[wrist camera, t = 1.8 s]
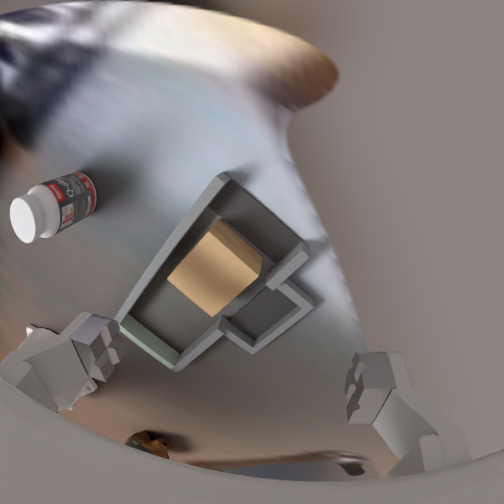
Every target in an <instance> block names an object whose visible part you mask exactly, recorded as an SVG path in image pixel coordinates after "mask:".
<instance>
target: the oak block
mask: <svg viewBox="0 0 504 504" xmlns="http://www.w3.org/2000/svg"><path fill="white" fill-rule="evenodd" d="M263 259H264V258H263V257H262V256H260V255H259V254H258V253H257V252H256V251H255V250H254V249H253V248H252V247H250V246H249V245H248V244H247V243H246V242H245V241H244V240H243V239H242V238H241V237H239V236H238V235H237V234H236V233H235V232H234V231H233V230H232V229H231V228H229V227H228V226H227V225H226V224H225V223H224V222H223V221H222V220H221V219H219V220H218V221H217V222H216V223H215V224H214V225H213V226H212V227H211V228H210V229H209V231H208V232H207V233H206V234H205V235H204V236H203V237H202V238H201V240H200V241H199V242H198V243H197V244H196V245H195V246H194V247H193V248H192V250H191V251H190V252H189V253H188V254H187V255H186V256H185V258H184V259H183V260H182V261H181V262H180V263H179V265H178V266H177V267H176V268H175V269H174V271H173V272H172V273H171V274H170V276H169V277H168V278H167V280H169V281H170V282H171V283H172V284H173V285H174V286H176V287H177V288H178V289H179V290H180V291H181V292H183V293H184V294H185V295H186V296H187V297H188V298H190V299H191V300H192V301H193V302H194V303H196V304H197V305H198V306H199V307H200V308H202V309H203V310H204V311H205V312H207V313H208V314H209V315H210V316H212V317H213V316H214V315H215V314H217V313H218V312H219V311H220V310H221V309H222V308H223V307H225V306H226V305H227V304H228V303H229V302H230V301H231V300H233V299H234V298H235V297H236V296H237V295H238V294H239V293H241V292H242V291H243V290H244V289H245V288H246V287H247V286H248V285H250V284H251V283H252V282H253V281H254V280H255V279H256V278H257V277H259V274H260V271H261V267H262V263H263Z"/></svg>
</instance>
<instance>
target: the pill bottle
mask: <svg viewBox="0 0 504 504" xmlns="http://www.w3.org/2000/svg"><path fill="white" fill-rule="evenodd" d="M96 200H97V196H96V190H95V187H94V184H93V182H92V181H91V180H90V178H89V177H88V176H86V175H85V174H83V173H79V172H76V173H71V174H68V175H65V176H62V177H59V178H56V179H53V180H50V181H47V182H44V183H41V184H38V185H36V186H34V187H33V188H31V189H30V190H29V192H28V193H27V194H24V195H22V196H20V197H18V198H16V199H14V201H13V202H12V204H11V208H10V218H11V223H12V226H13V228H14V231H15V233H16V234H17V236H18V237H19V238H20V239H21V240H22V241H23V242H25V243H31V242H33V241H34V240H36V239H38V238H39V237H43V238H48V237H51V236H53V235H55V234H57V233H59V232H60V231H62V230H64V229H66V228H68V227H69V226H71V225H73V224H75V223H77V222H79V221H81V220H82V219H84V218H86V217H88V216H89V215H90V214H91V213H92V212H93V211H94V208H95V206H96Z"/></svg>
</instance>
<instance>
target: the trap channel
mask: <svg viewBox="0 0 504 504" xmlns="http://www.w3.org/2000/svg"><path fill="white" fill-rule="evenodd" d="M208 206H209V207H211V208H212V209H213V210H214V211H215V212H217V213H218V214H219V215H220V216H221V217H222V218H224V219H225V220H226V221H227V222H228V223H230V224H231V225H232V226H233V227H234V228H236V229H237V230H238V231H239V232H240V233H241V234H243V235H244V236H245V237H246V238H247V239H249V240H250V241H251V242H252V243H253V244H254V245H256V246H257V247H258V248H259V249H260V250H262V251H263V252H264V253H265V254H266V255H267V256H269V257H270V258H271V259H272V260H273V261H274V262H276V263H277V264H276V265H275V266H274V267H273V268H272V269H271V270H270V271H269V272H268V274H267V279H266V284H265V285H266V287H265V288H264V289H263V290H262V291H261V292H260V293H259V294H258V295H257V296H255V297H254V298H253V299H252V300H251V301H250V302H249V303H248V304H247V305H246V306H244V307H243V308H242V309H241V310H240V311H239V312H238V313H237V314H236V315H234V316H233V317H232V318H231V319H230V320H228V319H226V318H225V317H224V316H221V317H220V318H219V319H218V320H217V321H216V322H215V323H214V324H213V325H211V326H210V327H209V328H208V329H207V330H206V331H205V332H204V333H203V334H202V335H201V336H199V337H198V338H197V339H196V340H195V341H194V342H193V343H192V344H191V345H190V346H189V347H187V348H186V349H185V350H184V351H183V352H182V353H181V354H180V353H178V352H177V351H175V350H174V349H173V348H171V347H170V346H169V345H167V344H166V343H165V342H163V341H162V340H161V339H159V338H158V337H157V336H155V335H154V334H153V333H152V332H150V331H149V330H148V329H146V328H145V327H144V326H143V325H141V324H140V323H139V322H138V321H136V320H135V319H134V318H133V317H132V316H130V315H129V314H128V313H129V312H130V310H131V309H132V307H133V306H134V304H135V303H136V302H137V300H138V299H139V297H140V296H141V294H142V293H143V292H144V290H145V289H146V287H147V286H148V285H149V283H150V282H151V281H152V279H153V278H154V276H155V275H156V274H157V272H158V271H159V270H160V268H161V267H162V265H163V264H164V263H165V261H166V260H167V259H168V257H169V256H170V255H171V253H172V252H173V251H174V249H175V248H176V247H177V246H178V244H179V243H180V242H181V240H182V239H183V238H184V236H185V235H186V234H187V233H188V231H189V230H190V229H191V227H192V226H193V225H194V224H195V222H196V221H197V220H198V218H199V217H200V216H201V215H202V213H203V212H204V211H205V210H206V208H207V207H208ZM309 257H310V254H309V246H308V245H307V244H306V243H304V242H303V241H302V240H301V239H300V238H299V237H298V236H297V235H296V234H294V233H293V232H292V231H291V230H290V229H289V228H288V227H287V226H285V225H284V224H283V223H282V222H281V221H280V220H279V219H277V218H276V217H275V216H274V215H273V214H272V213H271V212H269V211H268V210H267V209H266V208H265V207H264V206H263V205H261V204H260V203H259V202H258V201H257V200H256V199H254V198H253V197H252V196H251V195H250V194H249V193H247V192H246V191H245V190H244V189H243V188H242V187H240V186H239V185H238V184H237V183H236V182H234V181H233V180H232V179H231V178H230V177H229V176H227V175H226V174H225V173H224V172H222V173H220V174H219V175H217V176H216V177H215V178H214V179H213V180H212V182H211V183H210V184H209V185H208V187H207V188H206V189H205V190H204V192H203V193H202V194H201V196H200V197H199V198H198V199H197V201H196V202H195V203H194V205H193V206H192V207H191V209H190V210H189V211H188V212H187V214H186V215H185V216H184V218H183V219H182V220H181V222H180V223H179V224H178V226H177V227H176V228H175V230H174V231H173V233H172V234H171V235H170V237H169V238H168V239H167V241H166V242H165V244H164V245H163V246H162V248H161V249H160V251H159V252H158V253H157V255H156V256H155V258H154V259H153V261H152V262H151V263H150V265H149V266H148V268H147V269H146V271H145V272H144V274H143V275H142V277H141V278H140V279H139V281H138V282H137V284H136V285H135V287H134V288H133V290H132V291H131V293H130V295H129V296H128V298H127V299H126V301H125V302H124V304H123V305H122V307H121V308H120V310H119V312H118V313H117V315H116V316H115V318H114V320H116V321H118V323H119V326H120V331H121V332H122V333H123V334H125V335H126V336H127V337H128V338H130V339H131V340H132V341H133V342H135V343H136V344H137V345H139V346H140V347H141V348H142V349H144V350H145V351H146V352H148V353H149V354H150V355H152V356H153V357H154V358H156V359H157V360H159V361H160V362H161V363H163V364H164V365H165V366H167V367H168V368H170V369H171V370H173V371H174V372H175V373H178V372H179V371H180V370H182V369H183V368H184V367H185V366H186V365H188V364H189V363H190V362H191V361H193V360H194V359H195V358H196V357H197V356H199V355H200V354H201V353H202V352H203V351H205V350H206V349H207V348H208V347H209V346H210V345H212V344H213V343H214V342H215V341H216V340H218V339H219V338H220V337H221V336H222V335H225V336H226V337H228V338H229V339H230V340H232V341H233V342H234V343H236V344H237V345H239V346H240V347H242V348H243V349H244V350H246V351H247V352H249V353H250V354H252V355H253V354H255V353H256V352H258V351H259V350H260V349H262V348H263V347H264V346H266V345H267V344H268V343H270V342H271V341H272V340H274V339H275V338H276V337H278V336H279V335H280V334H281V333H283V332H284V331H285V330H287V329H288V328H289V327H290V326H292V325H293V324H294V323H296V322H297V321H298V320H299V319H301V318H302V317H303V316H304V315H306V314H307V313H308V312H309V311H311V310H312V309H313V308H314V300H313V299H312V298H311V297H310V296H309V295H308V294H306V293H305V292H304V291H303V290H302V289H301V288H299V287H298V286H297V285H296V284H295V283H293V282H292V281H291V280H290V279H289V278H288V277H289V276H290V275H291V274H292V273H293V272H294V271H295V270H296V269H298V268H299V267H300V266H301V265H302V264H303V263H304V262H305V261H306V260H307V259H308V258H309Z"/></svg>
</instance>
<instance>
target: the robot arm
mask: <svg viewBox="0 0 504 504" xmlns="http://www.w3.org/2000/svg"><path fill="white" fill-rule="evenodd" d="M26 329H27V338H26V339H25V340H24V341H23V342H22V344H21V345H20V346H19V347H18V348H17V350H14V351H12V352H10V353H9V354H8V355H7V356H6V357H5V358H4V359H3V360H2V361H1V362H0V504H504V449H502V450H499V451H497V452H494V453H492V454H488V455H486V456H483V457H480V458H477V459H474V460H472V459H471V455H470V451H469V448H468V444H467V441H466V438H465V434H464V431H463V428H462V427H461V426H460V425H459V424H458V423H456V422H455V421H454V420H453V419H452V418H451V417H449V416H448V415H447V414H446V413H445V412H444V411H443V410H441V409H440V408H439V407H438V406H437V405H436V404H435V403H433V402H432V401H431V400H430V399H429V398H428V397H426V396H425V395H424V394H423V393H422V392H421V391H420V390H418V389H417V388H412V385H411V382H410V378H409V375H408V372H407V369H406V366H405V363H404V360H403V357H402V354H401V353H400V352H356V353H355V354H354V356H353V359H352V363H353V367H352V368H351V369H349V371H348V374H347V378H346V384H345V393H346V397H347V398H348V400H349V403H348V405H347V419H348V423H354V424H368V423H373V424H372V425H373V426H374V427H375V429H376V430H377V431H378V433H379V434H380V435H381V437H382V438H383V439H384V441H385V442H386V443H387V445H388V446H389V447H390V449H391V450H392V451H393V453H394V454H395V455H396V457H397V458H398V459H399V462H398V463H397V465H396V466H395V467H394V468H393V469H392V470H391V471H390V472H389V473H387V478H384V479H375V480H362V481H344V482H304V481H285V480H274V479H264V478H256V477H248V476H242V475H235V474H229V473H224V472H219V471H214V470H209V469H204V468H200V467H196V466H191V465H187V464H184V463H180V462H176V461H173V460H169V459H166V458H162V457H159V456H156V455H153V454H150V453H147V452H144V451H141V450H138V449H135V448H133V447H130V446H127V445H125V444H122V443H120V442H117V441H115V440H112V439H110V438H107V437H105V436H103V435H100V434H98V433H96V432H94V431H92V430H89V429H87V428H85V427H83V426H81V425H79V424H77V423H75V422H73V421H71V420H69V419H67V418H65V417H64V416H62V415H60V414H58V411H60V410H67V409H69V410H72V409H73V408H74V406H75V405H76V403H75V401H76V400H77V399H79V398H80V397H82V396H84V395H87V394H89V393H91V392H93V391H95V390H96V389H97V388H98V386H97V384H96V383H95V382H94V380H93V379H92V378H91V377H93V378H95V379H98V380H101V381H104V382H106V381H107V379H108V378H109V376H110V375H111V374H112V372H113V371H114V364H116V363H118V362H120V360H121V359H122V357H123V355H124V351H125V343H124V339H123V337H122V336H121V335H120V334H119V333H118V332H119V331H120V326H119V323H118V321H116V320H114V319H110V318H107V317H103V316H99V315H96V314H91V313H88V312H82V313H80V314H79V315H78V316H77V317H76V318H75V319H74V320H73V321H72V322H71V323H70V324H69V325H68V326H67V327H66V328H65V329H64V330H63V331H62V332H61V333H60V335H57V334H55V333H54V332H52V331H50V330H48V329H44V328H36V327H34V326H32V325H29V326H28V327H27V328H26Z"/></svg>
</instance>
